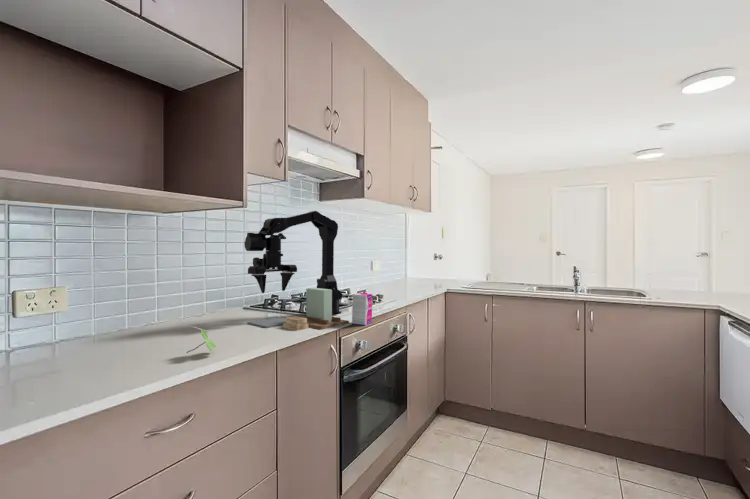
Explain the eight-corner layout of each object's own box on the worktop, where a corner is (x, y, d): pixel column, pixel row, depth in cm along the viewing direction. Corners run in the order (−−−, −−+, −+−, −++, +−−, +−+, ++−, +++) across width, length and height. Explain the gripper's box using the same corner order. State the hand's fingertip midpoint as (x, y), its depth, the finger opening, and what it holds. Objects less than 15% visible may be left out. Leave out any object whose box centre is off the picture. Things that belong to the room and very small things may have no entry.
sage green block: (314, 318, 150) (314, 287, 150) (331, 321, 144) (331, 289, 144) (306, 319, 147) (306, 288, 147) (324, 323, 141) (323, 290, 141)
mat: (278, 318, 155) (278, 317, 155) (297, 322, 148) (297, 320, 148) (247, 323, 145) (247, 322, 145) (265, 328, 137) (265, 326, 137)
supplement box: (365, 326, 140) (365, 295, 140) (351, 325, 142) (351, 294, 142) (372, 323, 145) (372, 293, 145) (358, 322, 147) (358, 292, 147)
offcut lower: (294, 326, 142) (294, 321, 142) (308, 329, 137) (308, 323, 137) (283, 328, 138) (283, 323, 138) (297, 331, 133) (297, 326, 133)
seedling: (199, 368, 106) (220, 354, 107) (184, 360, 99) (207, 345, 101) (190, 347, 109) (211, 334, 111) (175, 338, 103) (198, 324, 104)
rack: (317, 317, 157) (317, 311, 157) (348, 323, 145) (348, 316, 145) (289, 323, 146) (289, 316, 146) (321, 329, 134) (321, 322, 134)
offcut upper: (294, 321, 141) (294, 316, 141) (306, 323, 137) (306, 318, 137) (285, 323, 138) (285, 317, 138) (298, 325, 134) (297, 320, 134)
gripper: (280, 250, 159) (280, 288, 159) (239, 251, 145) (239, 292, 145) (297, 250, 152) (298, 290, 152) (256, 251, 137) (256, 294, 137)
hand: (273, 291), depth 147 cm, fingers open, 9 cm apart
